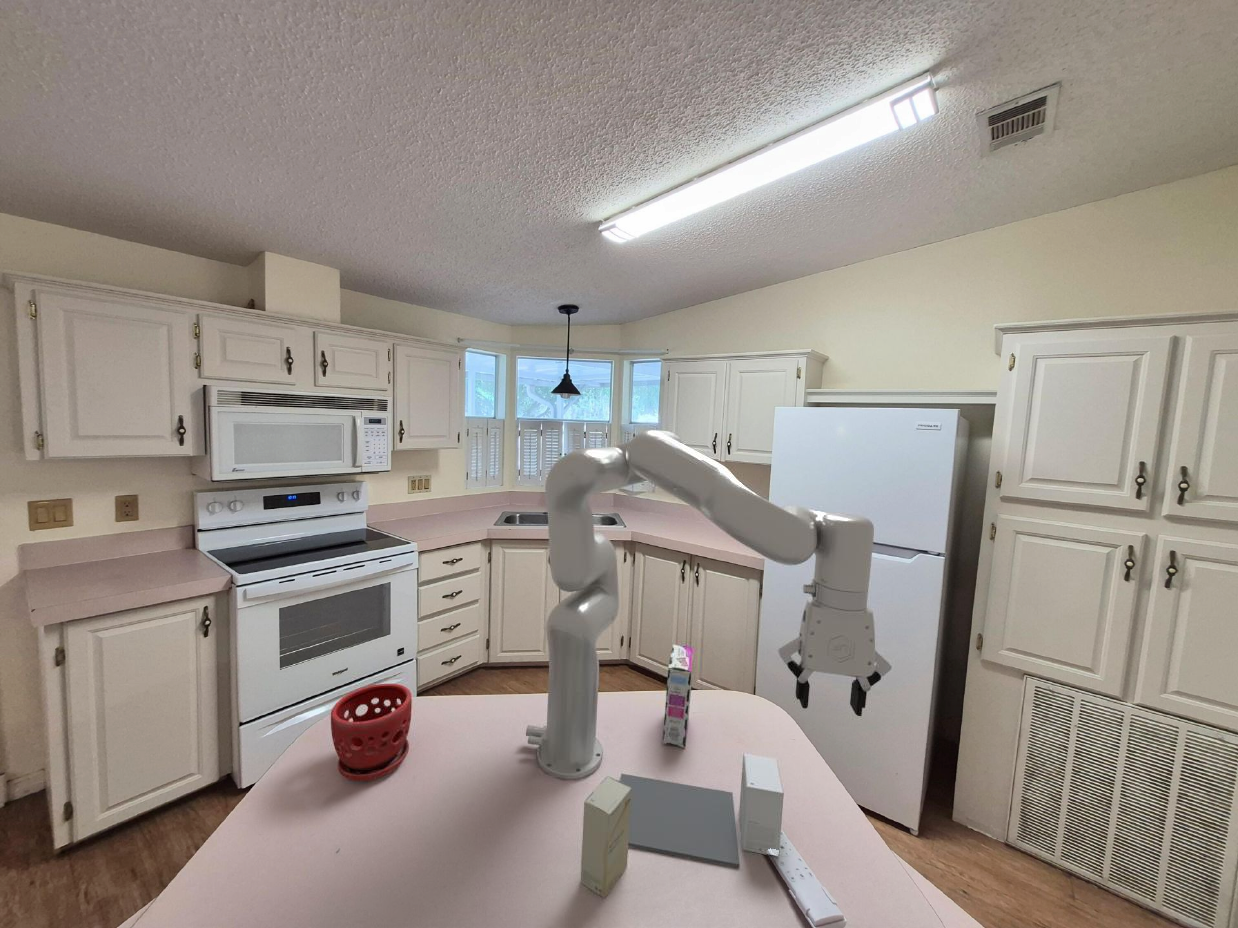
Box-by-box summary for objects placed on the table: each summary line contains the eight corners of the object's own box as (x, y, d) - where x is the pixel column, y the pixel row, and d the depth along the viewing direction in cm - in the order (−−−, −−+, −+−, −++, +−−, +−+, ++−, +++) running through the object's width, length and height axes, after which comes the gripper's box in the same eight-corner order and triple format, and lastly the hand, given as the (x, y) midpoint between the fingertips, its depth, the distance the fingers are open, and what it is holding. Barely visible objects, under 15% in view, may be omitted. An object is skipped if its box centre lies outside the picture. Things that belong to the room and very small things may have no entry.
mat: (607, 842, 73) (607, 838, 73) (621, 776, 87) (621, 773, 87) (739, 867, 70) (739, 864, 70) (732, 795, 84) (732, 792, 83)
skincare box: (604, 899, 64) (609, 816, 63) (578, 881, 66) (582, 801, 65) (628, 864, 69) (632, 787, 68) (603, 848, 72) (607, 773, 71)
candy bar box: (686, 749, 95) (692, 671, 94) (661, 744, 96) (666, 667, 95) (689, 716, 106) (694, 646, 105) (667, 712, 107) (671, 643, 105)
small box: (778, 859, 72) (784, 794, 71) (741, 850, 73) (746, 786, 72) (772, 816, 79) (777, 757, 79) (738, 809, 81) (743, 751, 80)
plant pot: (409, 732, 96) (410, 675, 95) (411, 777, 84) (413, 713, 83) (335, 748, 90) (335, 688, 89) (326, 799, 78) (326, 730, 77)
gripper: (784, 598, 69) (774, 713, 70) (912, 611, 66) (899, 730, 68) (775, 581, 76) (767, 686, 78) (890, 593, 74) (879, 701, 75)
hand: (829, 706), depth 73 cm, fingers open, 7 cm apart
